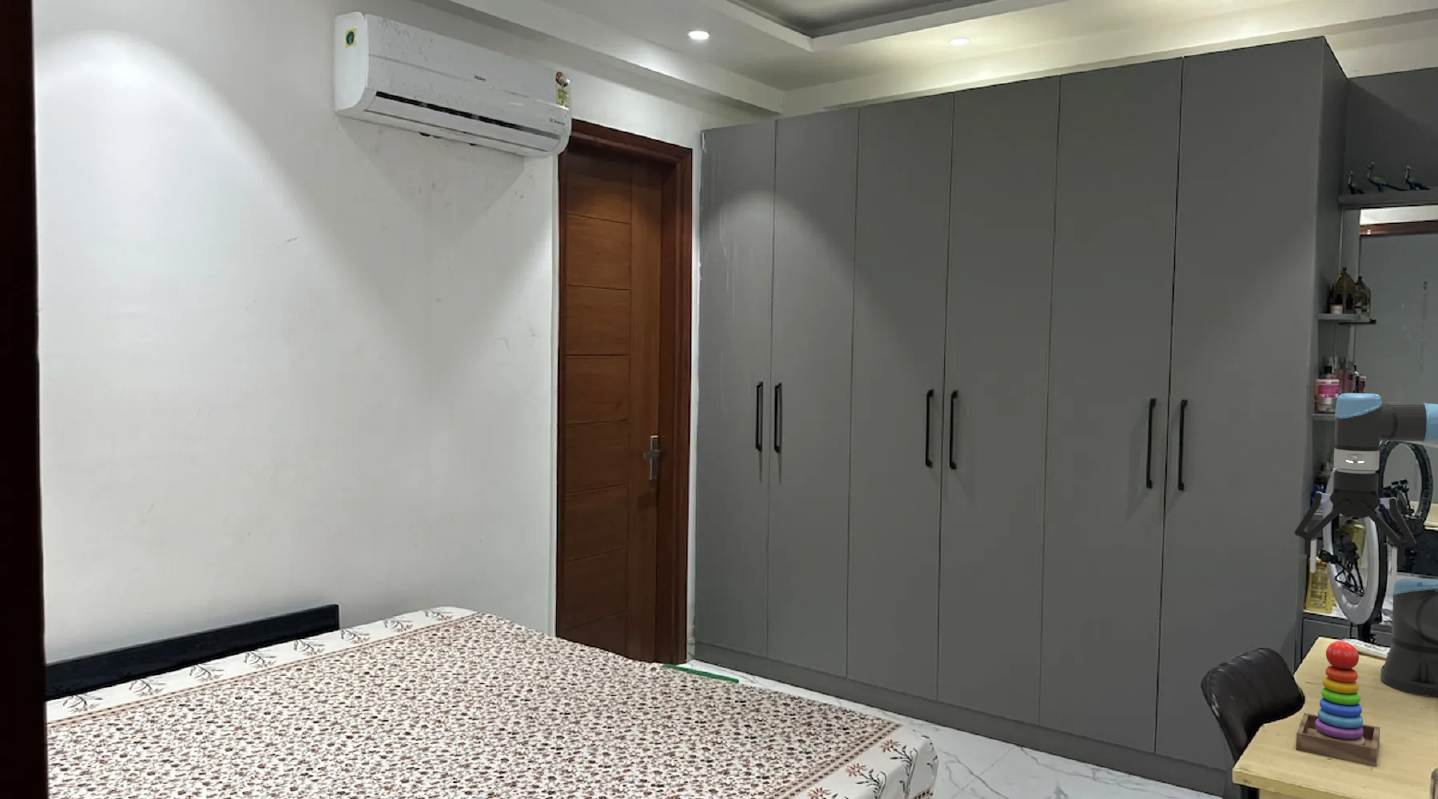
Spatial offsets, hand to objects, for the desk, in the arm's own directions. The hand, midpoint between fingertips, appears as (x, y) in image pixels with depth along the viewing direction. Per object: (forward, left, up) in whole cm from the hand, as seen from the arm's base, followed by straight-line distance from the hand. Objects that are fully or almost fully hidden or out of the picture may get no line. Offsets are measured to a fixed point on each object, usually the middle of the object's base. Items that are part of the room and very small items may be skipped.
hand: (1352, 576), depth 195 cm
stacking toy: (+17, +17, -26) cm, 36 cm away
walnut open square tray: (+17, +17, -27) cm, 36 cm away
